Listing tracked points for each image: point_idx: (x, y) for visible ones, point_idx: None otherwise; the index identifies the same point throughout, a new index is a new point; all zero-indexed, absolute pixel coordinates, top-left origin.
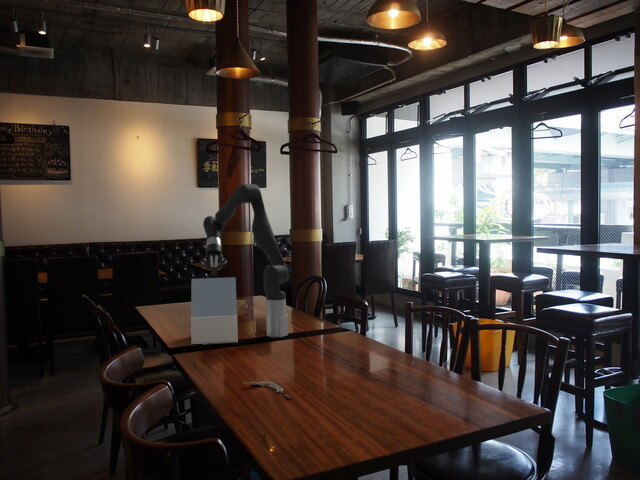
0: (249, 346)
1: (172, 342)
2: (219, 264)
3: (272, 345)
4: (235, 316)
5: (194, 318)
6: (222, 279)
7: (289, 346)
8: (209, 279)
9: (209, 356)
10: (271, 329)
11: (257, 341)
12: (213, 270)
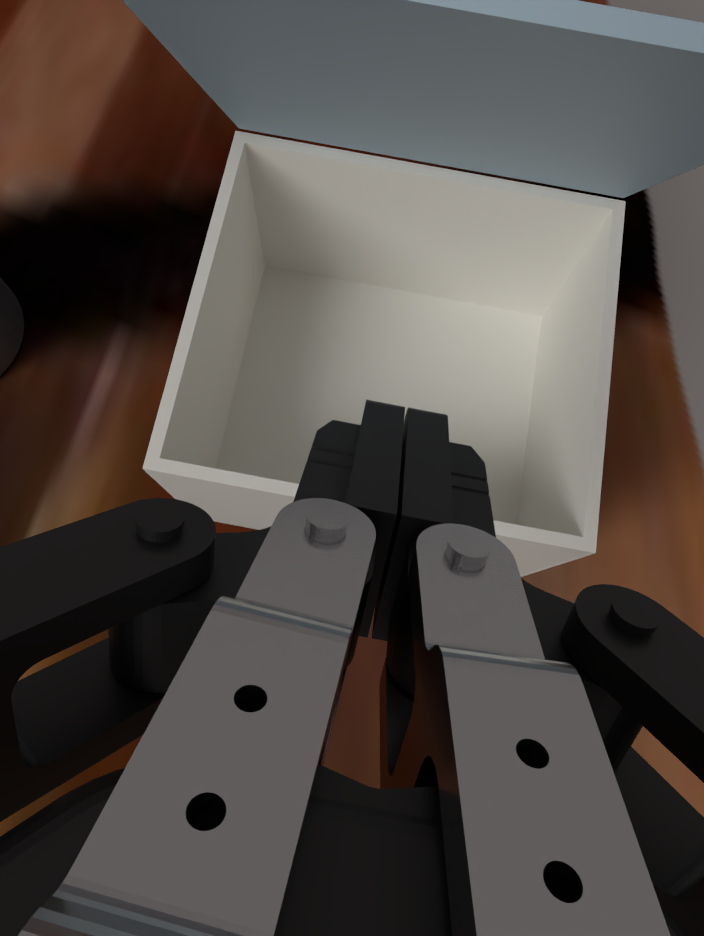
0: (220, 152)
1: (666, 435)
2: (152, 548)
3: (88, 120)
4: (251, 139)
5: (593, 199)
6: None
7: (9, 65)
8: (555, 9)
9: None
10: None
11: (136, 236)
12: (422, 450)
